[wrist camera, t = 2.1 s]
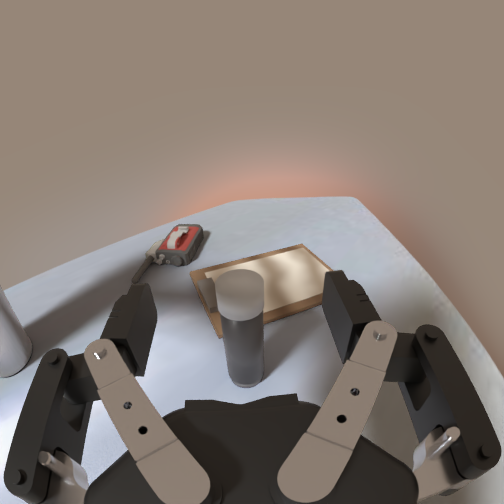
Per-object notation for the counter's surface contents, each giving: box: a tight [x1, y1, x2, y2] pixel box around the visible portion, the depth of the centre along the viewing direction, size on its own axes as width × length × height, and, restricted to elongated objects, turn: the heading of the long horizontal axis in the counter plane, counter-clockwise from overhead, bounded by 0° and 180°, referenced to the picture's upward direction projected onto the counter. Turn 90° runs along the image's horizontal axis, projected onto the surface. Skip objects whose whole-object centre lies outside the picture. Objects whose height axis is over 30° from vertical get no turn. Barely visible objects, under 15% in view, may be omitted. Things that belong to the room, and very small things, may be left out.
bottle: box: [215, 269, 264, 388], centre depth 29 cm, size 4×4×14 cm
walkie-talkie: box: [132, 224, 204, 284], centre depth 55 cm, size 9×4×20 cm
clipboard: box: [190, 244, 333, 338], centre depth 47 cm, size 22×16×2 cm
